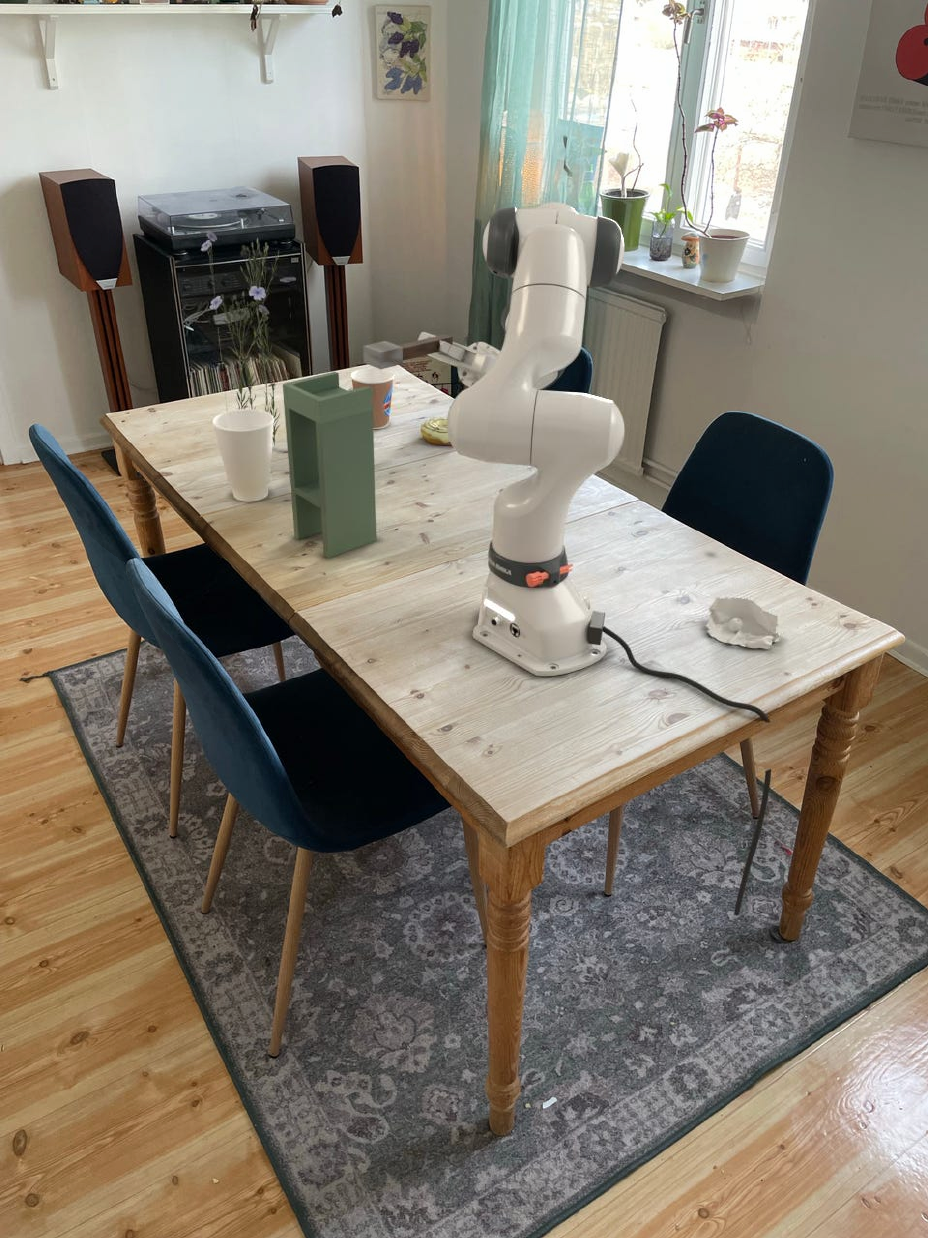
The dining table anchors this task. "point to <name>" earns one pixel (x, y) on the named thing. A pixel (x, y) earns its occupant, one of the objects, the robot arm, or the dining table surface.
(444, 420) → the decorated donut
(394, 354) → the mallet
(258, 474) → the cup
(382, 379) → the coffee cup
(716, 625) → the jagged white shell
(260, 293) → the wildflower
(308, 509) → the stand
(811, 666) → the dining table surface
